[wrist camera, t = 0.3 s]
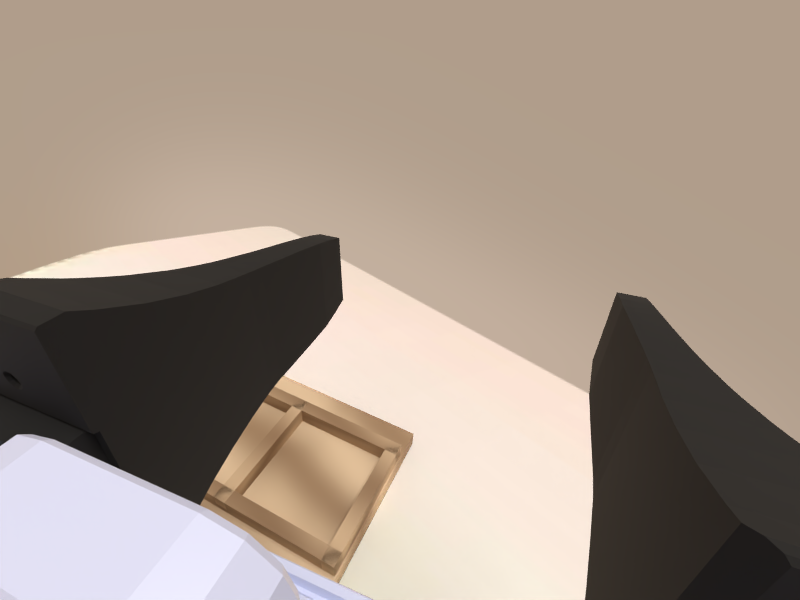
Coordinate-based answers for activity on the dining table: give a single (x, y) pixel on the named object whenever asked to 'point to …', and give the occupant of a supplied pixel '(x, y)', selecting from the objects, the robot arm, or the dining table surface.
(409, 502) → the dining table surface
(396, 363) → the dining table surface
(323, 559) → the oak stand
